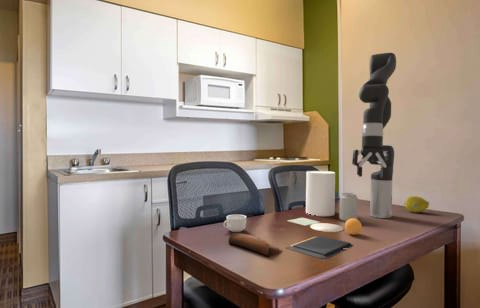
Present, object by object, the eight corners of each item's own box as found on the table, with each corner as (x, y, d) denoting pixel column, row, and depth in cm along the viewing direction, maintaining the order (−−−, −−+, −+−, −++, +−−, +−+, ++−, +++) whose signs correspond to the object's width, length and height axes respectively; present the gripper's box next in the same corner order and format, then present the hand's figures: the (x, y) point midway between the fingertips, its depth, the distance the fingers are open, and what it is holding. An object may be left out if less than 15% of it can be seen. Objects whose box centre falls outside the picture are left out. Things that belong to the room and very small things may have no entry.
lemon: (401, 211, 164) (402, 195, 164) (407, 209, 169) (407, 194, 169) (425, 215, 156) (425, 198, 156) (430, 213, 161) (431, 197, 161)
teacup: (237, 226, 131) (238, 213, 131) (250, 231, 125) (250, 217, 125) (217, 231, 125) (217, 217, 125) (229, 235, 119) (230, 220, 119)
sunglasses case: (286, 251, 102) (279, 235, 99) (273, 267, 98) (266, 251, 95) (245, 238, 115) (238, 224, 112) (233, 252, 111) (225, 238, 108)
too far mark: (302, 217, 148) (302, 217, 148) (320, 222, 140) (320, 221, 140) (287, 221, 142) (287, 220, 142) (304, 225, 134) (304, 225, 134)
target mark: (323, 222, 140) (323, 221, 140) (350, 228, 130) (350, 228, 130) (303, 226, 132) (303, 226, 132) (330, 234, 122) (330, 233, 122)
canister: (312, 209, 168) (313, 170, 167) (338, 212, 160) (339, 172, 159) (301, 213, 157) (301, 172, 156) (328, 217, 149) (329, 174, 148)
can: (358, 223, 140) (359, 195, 139) (340, 222, 141) (340, 194, 141) (355, 219, 147) (356, 192, 146) (338, 218, 148) (339, 191, 148)
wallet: (324, 256, 95) (283, 244, 106) (324, 262, 95) (283, 249, 106) (357, 242, 109) (317, 232, 120) (356, 247, 109) (317, 237, 120)
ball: (350, 231, 126) (351, 216, 126) (364, 235, 121) (365, 219, 121) (341, 234, 122) (341, 218, 122) (355, 237, 118) (356, 221, 117)
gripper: (386, 136, 131) (385, 177, 131) (351, 135, 131) (349, 175, 131) (395, 135, 124) (393, 178, 123) (357, 134, 124) (355, 176, 124)
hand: (371, 176), depth 127 cm, fingers open, 8 cm apart
